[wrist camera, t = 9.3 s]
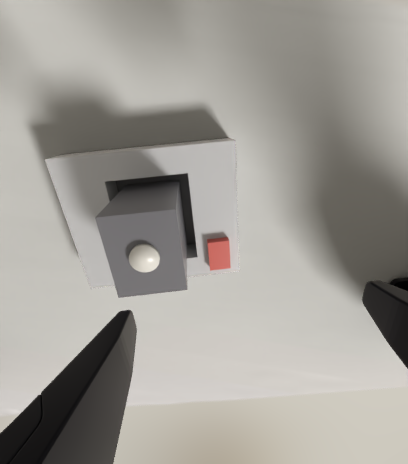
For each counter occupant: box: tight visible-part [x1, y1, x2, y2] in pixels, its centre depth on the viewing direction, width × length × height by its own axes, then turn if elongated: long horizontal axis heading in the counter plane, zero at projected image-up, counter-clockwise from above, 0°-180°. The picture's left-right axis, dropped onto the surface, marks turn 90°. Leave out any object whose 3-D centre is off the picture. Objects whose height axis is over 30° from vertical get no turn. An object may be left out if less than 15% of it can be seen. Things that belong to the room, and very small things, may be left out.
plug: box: [95, 179, 187, 298], centre depth 16 cm, size 4×5×7 cm
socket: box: [45, 138, 240, 289], centre depth 18 cm, size 12×10×3 cm
